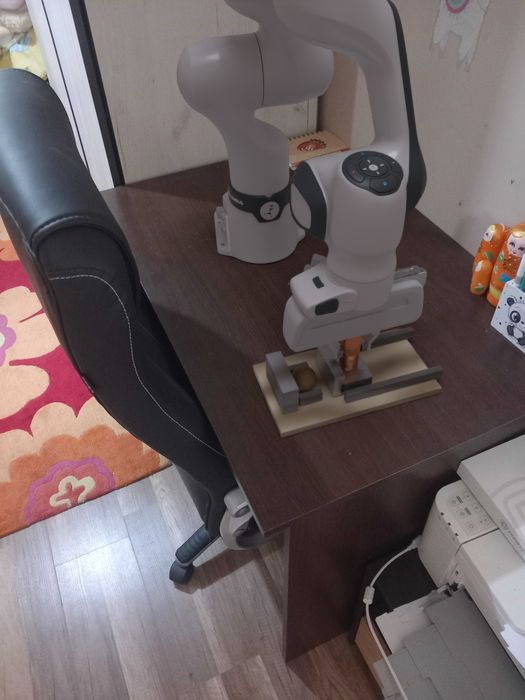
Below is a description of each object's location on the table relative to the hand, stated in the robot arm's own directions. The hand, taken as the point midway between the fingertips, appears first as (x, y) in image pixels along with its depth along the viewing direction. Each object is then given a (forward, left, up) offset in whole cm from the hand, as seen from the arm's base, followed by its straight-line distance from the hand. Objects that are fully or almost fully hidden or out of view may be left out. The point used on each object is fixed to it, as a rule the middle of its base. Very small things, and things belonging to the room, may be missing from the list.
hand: (349, 352), depth 82 cm
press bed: (0, 0, -7) cm, 7 cm away
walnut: (0, -7, -3) cm, 8 cm away
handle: (0, -1, -5) cm, 5 cm away
